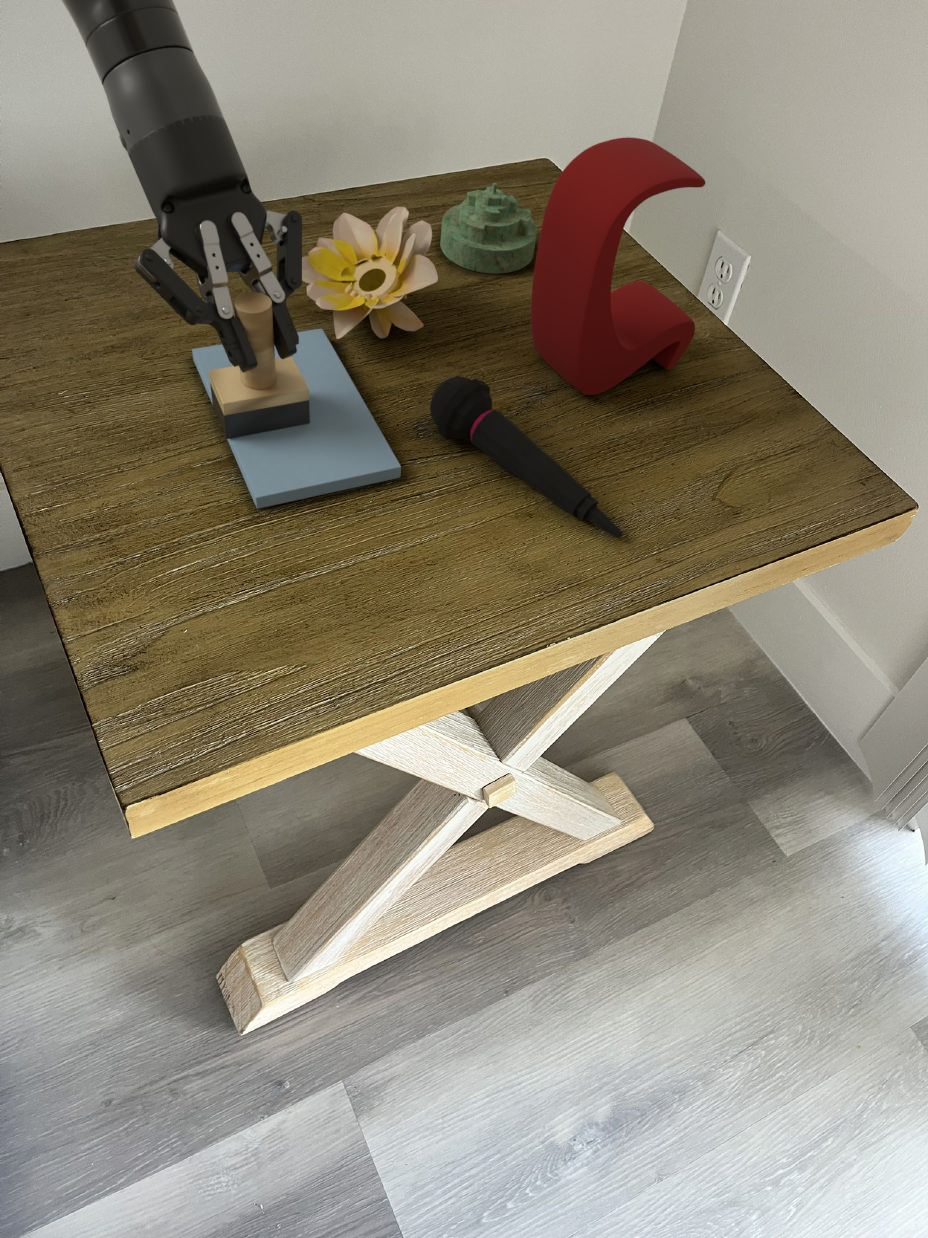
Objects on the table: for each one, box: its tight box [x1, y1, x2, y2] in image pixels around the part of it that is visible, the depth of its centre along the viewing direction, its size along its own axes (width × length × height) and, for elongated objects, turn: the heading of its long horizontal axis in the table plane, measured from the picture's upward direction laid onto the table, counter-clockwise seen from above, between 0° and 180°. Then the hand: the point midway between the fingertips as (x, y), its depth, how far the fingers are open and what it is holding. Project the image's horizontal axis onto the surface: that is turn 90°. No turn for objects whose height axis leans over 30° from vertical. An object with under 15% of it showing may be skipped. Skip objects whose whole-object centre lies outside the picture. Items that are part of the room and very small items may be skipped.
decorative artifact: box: [439, 182, 538, 275], centre depth 102 cm, size 10×7×10 cm
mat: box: [191, 328, 402, 510], centre depth 83 cm, size 12×20×1 cm, turn 24°
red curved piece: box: [530, 136, 706, 396], centre depth 85 cm, size 15×7×20 cm, turn 123°
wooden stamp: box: [209, 291, 310, 440], centre depth 77 cm, size 7×4×11 cm, turn 114°
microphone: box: [429, 375, 623, 539], centre depth 80 cm, size 6×6×20 cm
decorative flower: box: [302, 206, 439, 340], centre depth 91 cm, size 15×11×10 cm
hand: (270, 361), depth 76 cm, fingers closed on wooden stamp, 3 cm apart
